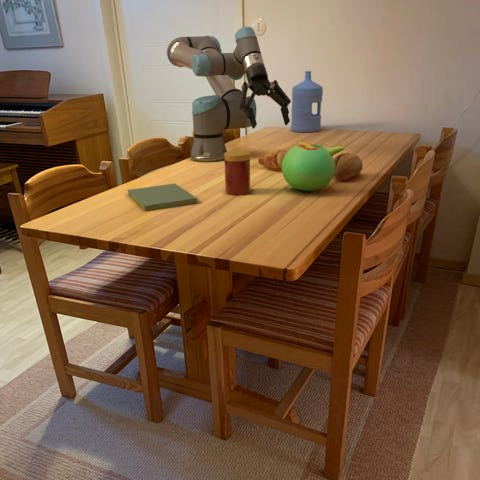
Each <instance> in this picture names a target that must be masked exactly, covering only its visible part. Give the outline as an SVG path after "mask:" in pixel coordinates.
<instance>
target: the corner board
mask: <svg viewBox="0 0 480 480" xmlns="http://www.w3.org/2000/svg"><path fill="white" fill-rule="evenodd" d="M127 195H128V196H129V197H130V198H131V199H132V200H133V201H134V202H135V203H136V204H137V205H138V206H140V207H141V208H142V209H143V210H144V211H145V212H148V211H154V210H155V211H156V210H160V209H161V210H162V209H167V208H173V207H180V206H186V205H192V204H198V200H197V199H198V198H197V197H196V196H194V195H193V194H191V193H190V192H188V191H187V190H185V189H184V188H182V187H181V186H179V185H178V184H176V183H168V184H161V185H154V186H153V185H152V186H147V187H140V188H139V187H137V188H132V189H127Z"/></svg>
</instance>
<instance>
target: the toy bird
mask: <svg viewBox="0 0 480 480" xmlns="http://www.w3.org/2000/svg"><path fill="white" fill-rule="evenodd" d="M298 144H299V145H296V146H294V147H292V148H290V149H289V150H288V151H286V152H287V154H286V155H285V157H284V159H283V162H282V171H281V174H282V177H283V179H284V180H285V182H286V183H287V184H288V185H290V186H291V187H293V188H294V189H296V190H299V191H304V192H313V191H318V190H321V189H323V188H325V187H326V186H328V185H329V184H330V183H331V181H332V180H333V178H334V173H335V162H334V159H335V158H334V156H335V155H337V154H339V153H340V152H342V151H344V150H345V149H346V146H345V145H339V146H332V147H323V146H322V144H321V143H318V144H312V143H307V142H303V141H299V142H298Z"/></svg>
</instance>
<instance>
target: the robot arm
mask: <svg viewBox="0 0 480 480" xmlns="http://www.w3.org/2000/svg"><path fill="white" fill-rule="evenodd" d="M234 39H235V43H236V46H235V48H234V50H233V52H223V51H222V47H221V43H220V41H219V40H218V39H217V38H216V37H215V36H213V35H204V36H203V35H202V36H200V35H199V36H179V37H177V38H174V39H172V40H171V41H170V43H169V44H168V45H167V49H166V57H167V59H168V62H170V64H171V65H173V66H175V67H178V68H187V69H190V70H192V72H193V73H194V75H195V76H196V77H203V78H204V77H205V79H206V80H207V82H208V84H209V85H210V87H211V89H212V91H213V93H214V94H212V95H205V96H201V97H197V98H195V99H194V100H193V101H192V103H191V109H192V111H191V114H192V126H193V128H192V129H193V143H192V147H191V152H190V159H191V160H192V161H196V162H206V163H207V162H220V161H224V160H225V159H224V153H226V152H228V150H227V147H226V144H225V141H224V138H223V137H224V135H223V131H226V130H235V129H236V130H237V129H246V128H251V129H255V128H256V127H257V125H258V122H257V120H256V119H257V103H256V100H255V97H256V96H258V97H260V96H264V97H265V96H266V97H267V98H270V99H271V100H272V101H273V102H275V103H276V104H277V105H278V106H280V113H281V116H282V119H283V122H284V125H285V126H288V125H289V123H290V122H291V118H290V116H289V114H290V110H289V107H288V106H289V105H290V104H291V103H292V99H290V97H289V96H288V95H287V94H286V92H284V90H283V89H282V87H281V86H280V85H279V82H278V81H277V80H276V79H274V80H273V81H270V80H269V76H268V72H267V71H268V70H267V68H266V65H265V62H264V59H263V55H262V51H261V47H260V45H259V41H258V36H257V35H256V32H255V29H254V28H253V27H251V26H243V27H240V28H239V29H238V30H237V31H236V32H235V34H234ZM244 75H245V77H246V80H247V81H243V83H242V85H241V89H239V88H236V85H235V84H234V82H233V81H232V80H234V81H239V80H242V78H243V77H244ZM248 90H250V91H251V94H250V95H248V96H247V94H248Z"/></svg>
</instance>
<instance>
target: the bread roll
mask: <svg viewBox="0 0 480 480" xmlns="http://www.w3.org/2000/svg"><path fill="white" fill-rule="evenodd" d="M333 159H334V162H335V173H334V176H333V178H334V179H335V180H337V181H345V180H349V179H351V178H352V177H355V176H357V175H359V174H361V172H362V170H363V167H364V165H363V161H362V158H360V156H359V155H357V154H354V153H349V152H344V153H340V154H339V153H338V155H336V156H335V157H334V158H333Z"/></svg>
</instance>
